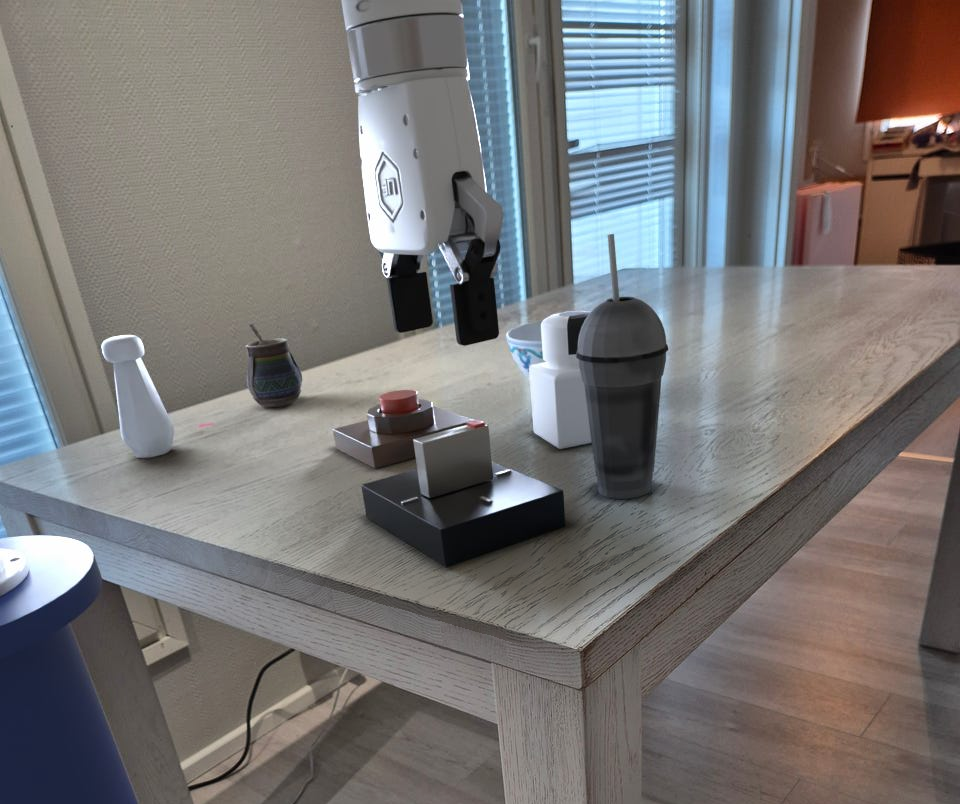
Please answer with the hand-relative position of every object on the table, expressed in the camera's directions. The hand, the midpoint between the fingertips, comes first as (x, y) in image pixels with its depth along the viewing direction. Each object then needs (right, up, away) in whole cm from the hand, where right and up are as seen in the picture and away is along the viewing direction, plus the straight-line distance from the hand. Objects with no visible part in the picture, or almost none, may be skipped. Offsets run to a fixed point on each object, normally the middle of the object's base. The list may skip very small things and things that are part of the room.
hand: (444, 335), depth 64 cm
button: (-6, +1, +27) cm, 28 cm away
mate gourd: (-24, +9, +52) cm, 58 cm away
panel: (+1, -13, +7) cm, 15 cm away
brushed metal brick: (+1, -10, +6) cm, 12 cm away
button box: (-5, -2, +29) cm, 29 cm away
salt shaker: (-35, -1, +37) cm, 51 cm away
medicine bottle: (+13, -2, +25) cm, 28 cm away
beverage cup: (+15, -10, +10) cm, 21 cm away
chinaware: (+14, +7, +40) cm, 43 cm away
